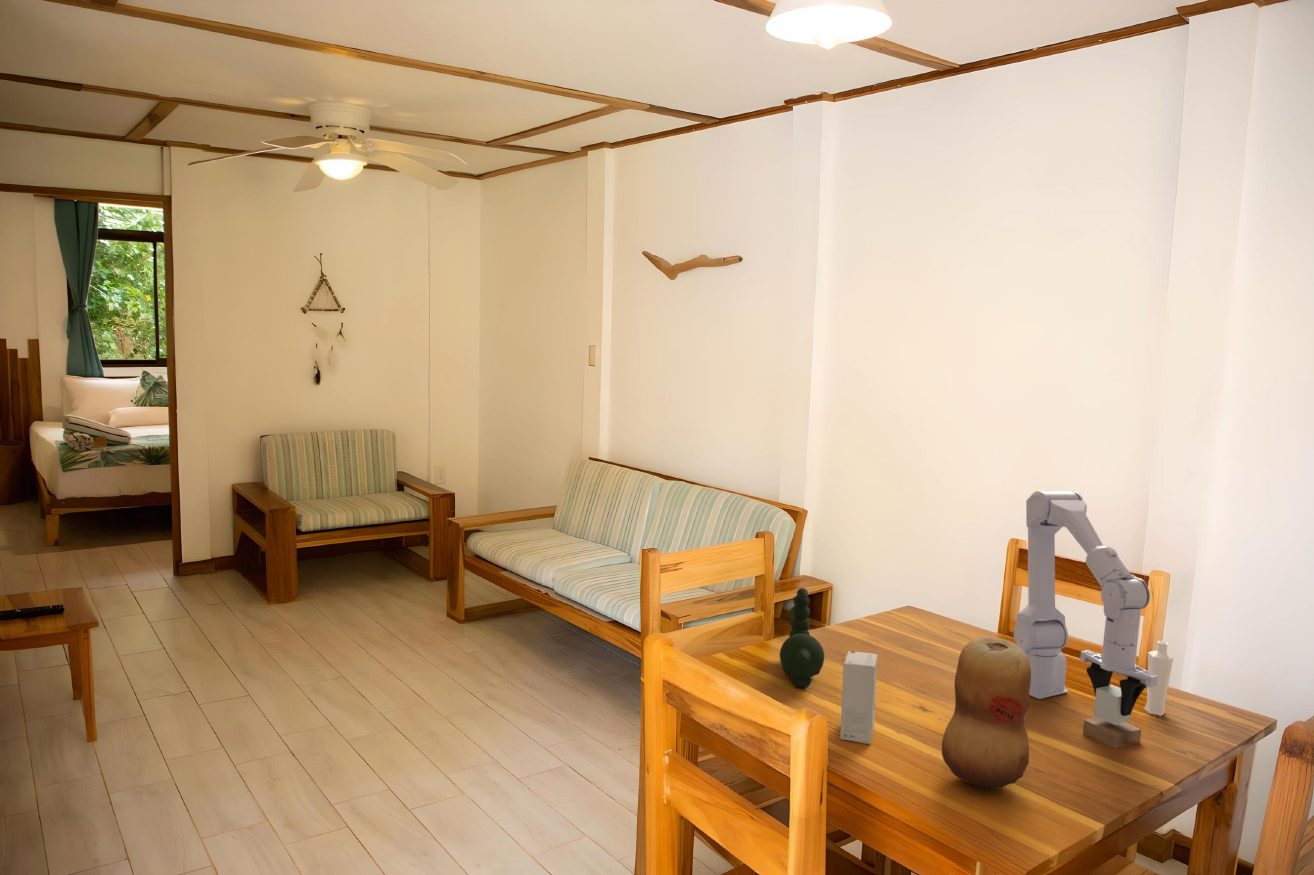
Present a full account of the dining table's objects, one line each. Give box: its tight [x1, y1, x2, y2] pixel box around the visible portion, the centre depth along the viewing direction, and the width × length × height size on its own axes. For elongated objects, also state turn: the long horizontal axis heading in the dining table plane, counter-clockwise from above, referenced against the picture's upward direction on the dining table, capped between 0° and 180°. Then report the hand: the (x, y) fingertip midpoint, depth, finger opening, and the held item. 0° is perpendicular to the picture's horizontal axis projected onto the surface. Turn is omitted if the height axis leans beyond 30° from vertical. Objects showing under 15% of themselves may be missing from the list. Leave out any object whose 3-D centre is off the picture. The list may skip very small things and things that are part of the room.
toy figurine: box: [779, 587, 825, 689], centre depth 195 cm, size 9×19×25 cm
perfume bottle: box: [1144, 640, 1174, 715], centre depth 183 cm, size 5×4×15 cm
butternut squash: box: [941, 636, 1031, 790], centre depth 149 cm, size 14×13×25 cm
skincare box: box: [839, 650, 878, 745], centre depth 168 cm, size 8×6×15 cm
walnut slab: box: [1082, 716, 1142, 749], centre depth 171 cm, size 7×7×3 cm
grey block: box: [1093, 684, 1132, 725], centre depth 170 cm, size 4×4×6 cm
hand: (1113, 709), depth 170 cm, fingers closed on grey block, 4 cm apart
